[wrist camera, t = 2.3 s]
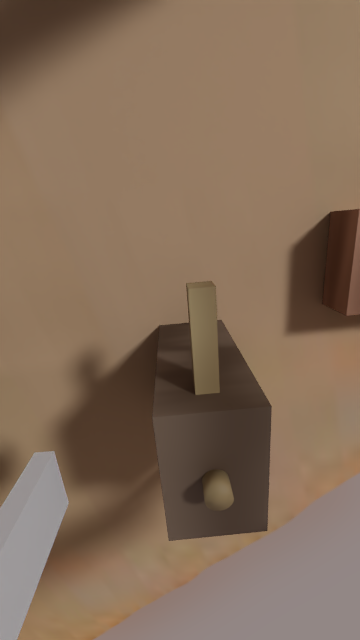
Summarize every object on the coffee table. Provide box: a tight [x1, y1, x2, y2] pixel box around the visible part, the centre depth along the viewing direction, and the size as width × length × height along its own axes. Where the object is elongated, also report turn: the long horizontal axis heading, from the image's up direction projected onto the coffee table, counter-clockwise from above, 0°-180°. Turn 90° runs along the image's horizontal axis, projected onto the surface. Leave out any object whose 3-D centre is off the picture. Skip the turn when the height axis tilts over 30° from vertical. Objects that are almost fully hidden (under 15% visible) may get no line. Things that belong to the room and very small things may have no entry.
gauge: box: [152, 281, 271, 541], centre depth 13 cm, size 4×10×10 cm, turn 5°
